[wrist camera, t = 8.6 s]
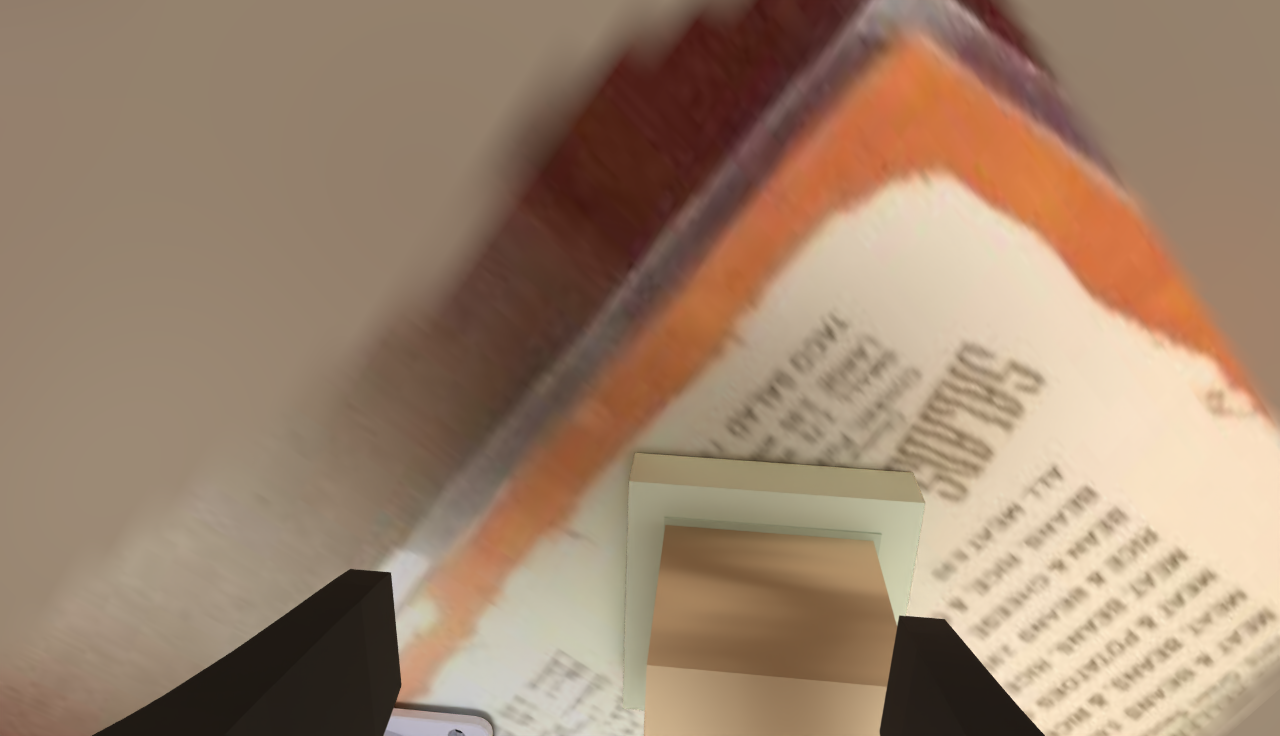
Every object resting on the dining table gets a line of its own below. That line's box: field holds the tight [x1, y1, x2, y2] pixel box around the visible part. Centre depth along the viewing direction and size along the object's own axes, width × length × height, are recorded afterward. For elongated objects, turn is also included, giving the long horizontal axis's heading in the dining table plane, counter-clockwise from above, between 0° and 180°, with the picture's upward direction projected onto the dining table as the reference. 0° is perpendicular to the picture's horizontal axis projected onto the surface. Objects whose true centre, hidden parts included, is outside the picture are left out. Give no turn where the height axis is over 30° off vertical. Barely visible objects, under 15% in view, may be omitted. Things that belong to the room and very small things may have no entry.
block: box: [644, 525, 897, 736], centre depth 20 cm, size 5×5×5 cm
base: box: [623, 453, 925, 711], centre depth 23 cm, size 7×7×2 cm
